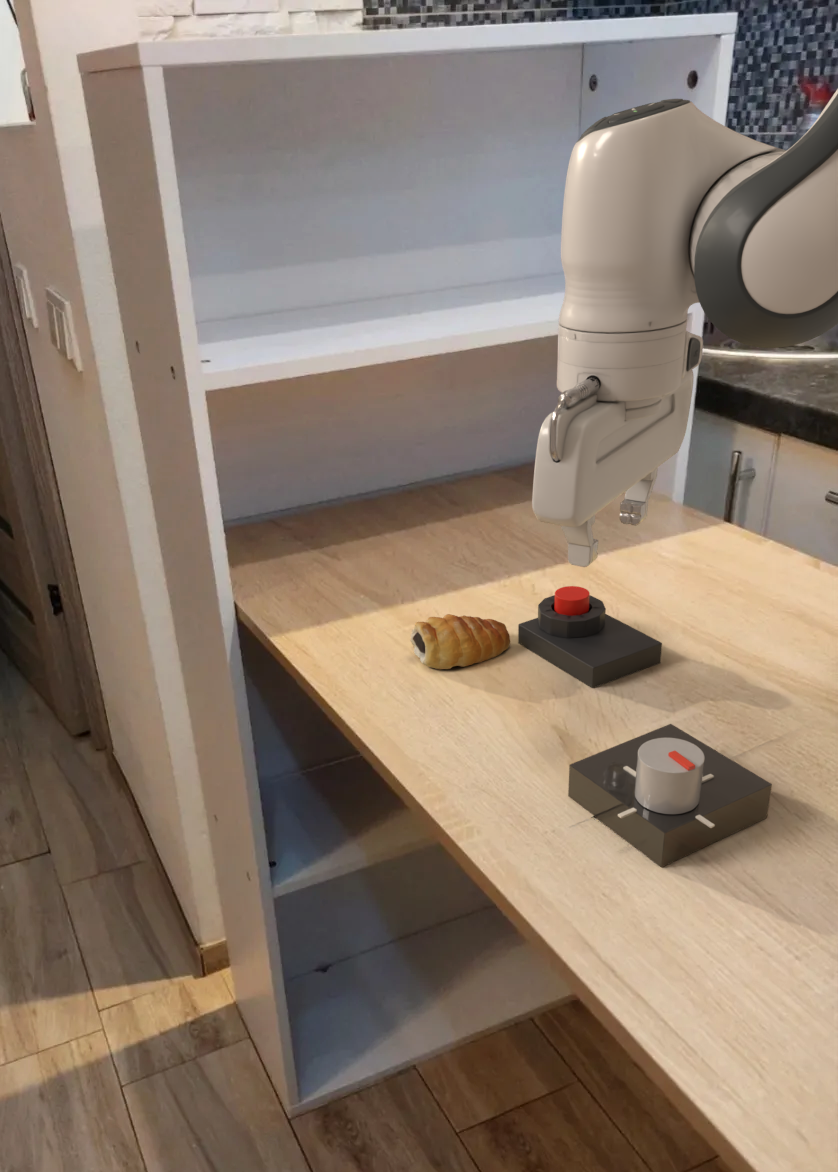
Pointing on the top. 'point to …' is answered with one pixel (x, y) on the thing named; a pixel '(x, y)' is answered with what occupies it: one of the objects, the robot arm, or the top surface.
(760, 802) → the hob console
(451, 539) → the top surface
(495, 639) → the pastry
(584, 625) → the box
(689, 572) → the top surface
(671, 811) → the hob knob
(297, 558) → the top surface
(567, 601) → the button
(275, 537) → the top surface
